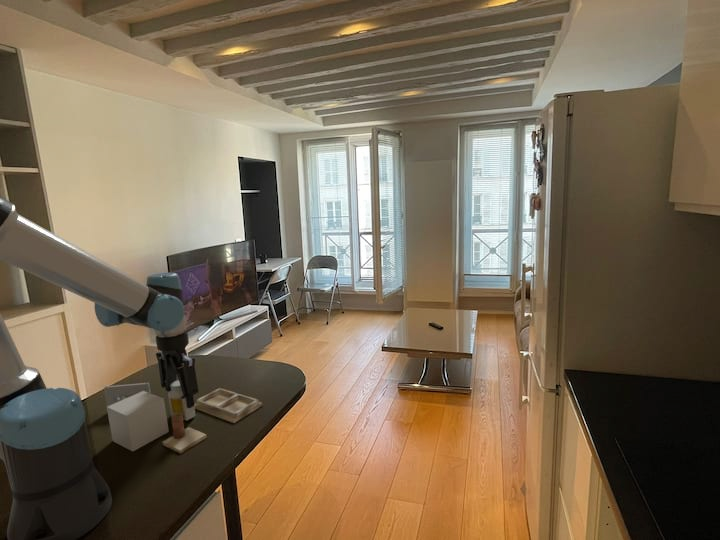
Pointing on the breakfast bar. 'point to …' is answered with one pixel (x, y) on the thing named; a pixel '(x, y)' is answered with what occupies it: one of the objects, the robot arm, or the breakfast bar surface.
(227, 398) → the beige divided tray
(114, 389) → the cassette
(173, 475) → the breakfast bar surface
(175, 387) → the supplement bottle
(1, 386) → the robot arm
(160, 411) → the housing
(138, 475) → the breakfast bar surface
